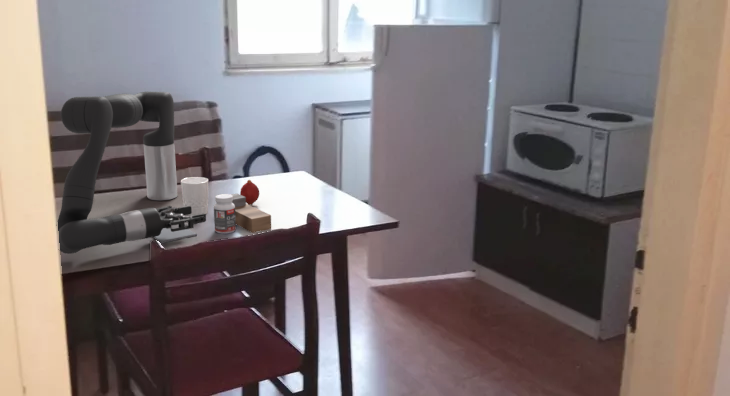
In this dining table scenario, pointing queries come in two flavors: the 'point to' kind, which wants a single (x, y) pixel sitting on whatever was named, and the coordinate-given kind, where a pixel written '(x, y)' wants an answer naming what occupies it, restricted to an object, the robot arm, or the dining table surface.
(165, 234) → the grey pad
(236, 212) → the wooden block
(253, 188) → the onion
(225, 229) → the pill bottle
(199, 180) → the white cup
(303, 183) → the dining table surface
